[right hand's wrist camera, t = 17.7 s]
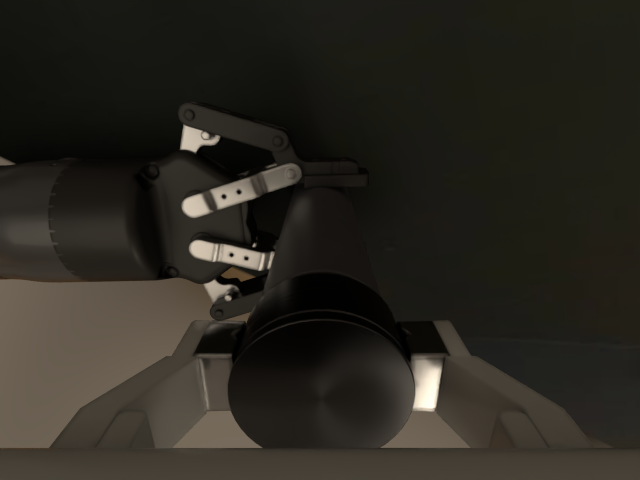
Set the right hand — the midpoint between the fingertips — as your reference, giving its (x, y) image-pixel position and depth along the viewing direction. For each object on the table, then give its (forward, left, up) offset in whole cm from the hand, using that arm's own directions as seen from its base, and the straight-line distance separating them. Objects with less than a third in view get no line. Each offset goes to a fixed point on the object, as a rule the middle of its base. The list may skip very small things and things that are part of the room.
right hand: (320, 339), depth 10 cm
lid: (0, 0, +2) cm, 2 cm away
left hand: (-2, -2, -12) cm, 12 cm away
